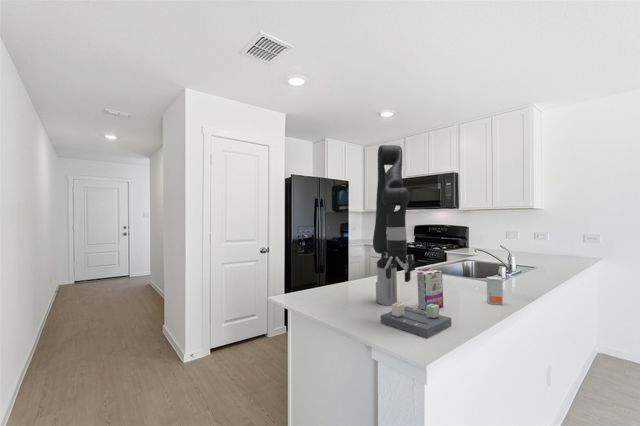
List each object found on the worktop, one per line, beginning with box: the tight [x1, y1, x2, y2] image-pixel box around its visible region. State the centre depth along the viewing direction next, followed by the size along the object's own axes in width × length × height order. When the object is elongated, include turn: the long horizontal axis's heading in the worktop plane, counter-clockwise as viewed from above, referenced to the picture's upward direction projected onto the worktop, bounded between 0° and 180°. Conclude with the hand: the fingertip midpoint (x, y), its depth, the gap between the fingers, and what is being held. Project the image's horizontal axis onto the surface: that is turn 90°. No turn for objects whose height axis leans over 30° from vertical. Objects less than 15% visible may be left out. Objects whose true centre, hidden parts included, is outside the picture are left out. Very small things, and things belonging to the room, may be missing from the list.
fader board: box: [380, 305, 452, 339], centre depth 116 cm, size 20×17×3 cm
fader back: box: [426, 304, 440, 318], centre depth 115 cm, size 3×4×4 cm
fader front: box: [391, 302, 405, 317], centre depth 118 cm, size 3×4×4 cm
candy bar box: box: [416, 269, 444, 311], centre depth 137 cm, size 11×5×16 cm, turn 118°
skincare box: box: [486, 276, 504, 306], centre depth 141 cm, size 6×4×12 cm
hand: (397, 280), depth 118 cm, fingers open, 8 cm apart
